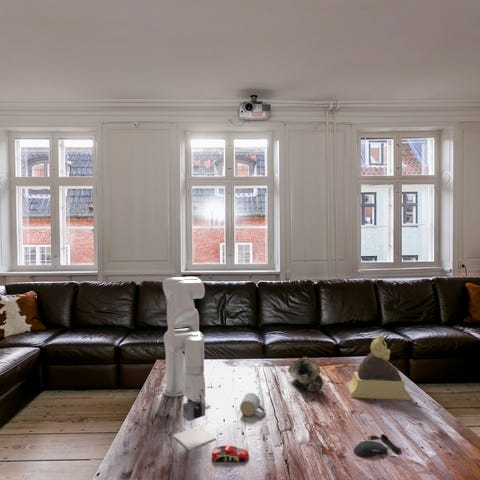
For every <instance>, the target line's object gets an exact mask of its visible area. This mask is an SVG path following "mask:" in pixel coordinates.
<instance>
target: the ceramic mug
mask: <svg viewBox="0 0 480 480" xmlns="http://www.w3.org/2000/svg"><path fill="white" fill-rule="evenodd" d="M239 407H240V408H239V409H240V412H241V413H242V414H243V416H245V417H252V416H254V415H255V416H257V417H263V416H264V415H265V414H266V409H265V408H264V407H263V406H262V405H261V400H260V397H259V396H258V395H257V394H256V393H252V392H247V393H246V394H245V395H244V397H243V399H242V401H241V402H240V406H239ZM258 410H260V411H261V413H260V412H259V411H258Z"/></svg>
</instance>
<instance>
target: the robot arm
mask: <svg viewBox="0 0 480 480" xmlns="http://www.w3.org/2000/svg"><path fill="white" fill-rule="evenodd" d="M162 290H163V293H164V296H165V297H166V321H167V323H166V324H167V330H166V332H165V333H164V334H163V343H164V344H163V345H164V350H165V381H164V384H165V387H164V388H163V389H162V394H163V395H164V396H166V397H172V398H176V397H181V396H184V397H186V403H188V402H191V401H193V402H195V408H194V418H195V419H194V420H196V418H197V419H199V418H202V417H203V416H202V407H203V404H205V403H206V402H207V401H206V399H205V398H206V381H205V374H204V373H205V336H204V334H203V333H202V332H201V331H200V315H199V311H198V309H197V308H195V307H196V306H195V302H194V300H196V299H203V298H204V297H205V293H206V292H205V291H206V290H205V285H204V283H203V281H202V280H201V279H200V278H198V277H196V276H178V277H176V276H175V277H168V278H165V279H164V280H163V281H162ZM183 352H184V353H183ZM198 401H200V403H198V404H197V402H198ZM201 416H202V417H201Z"/></svg>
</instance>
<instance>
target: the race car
mask: <svg viewBox="0 0 480 480" xmlns="http://www.w3.org/2000/svg"><path fill="white" fill-rule="evenodd" d="M249 457H250V455H249V451H248V450H246V449H244V448H239V447H236V446H234V445H221V446H216V447H214V448H213V450H212V451H211V460H212V461H213V462H218V463H222V462H225V463H229V462H231V463H234V462H235V463H237V462H240V463H244V462H246V461H247V460H248V459H249Z"/></svg>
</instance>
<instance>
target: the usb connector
mask: <svg viewBox="0 0 480 480" xmlns="http://www.w3.org/2000/svg"><path fill="white" fill-rule="evenodd" d="M205 402H206V403H205V404H203V407H202V416H201V417H200V418H202V417H205V416H206V411H207V410H210V408H211V404H210V403H209V402H207V401H205ZM198 403H200V401H198V402H197V404H198ZM194 408H195V402H193V401H191V402H188V403H187V402H185V403H183V404H182V418H183V419H185V420H186V421H188V422H191V421H193V420H196V419H198V418H196V419H195V418H194Z"/></svg>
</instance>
